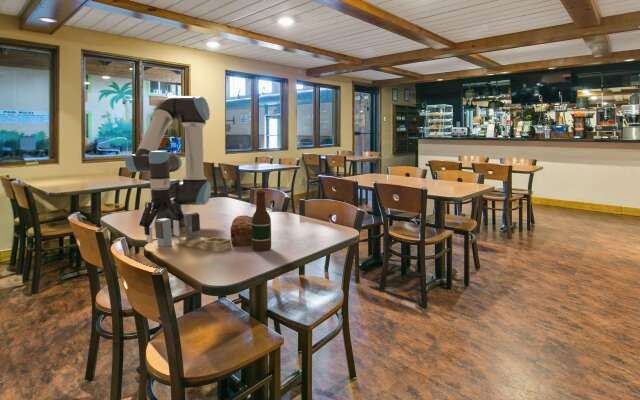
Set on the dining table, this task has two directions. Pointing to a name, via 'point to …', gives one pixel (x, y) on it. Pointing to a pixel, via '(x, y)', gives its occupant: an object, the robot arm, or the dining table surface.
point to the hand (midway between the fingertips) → (163, 238)
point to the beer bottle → (261, 225)
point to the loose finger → (163, 231)
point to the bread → (241, 231)
